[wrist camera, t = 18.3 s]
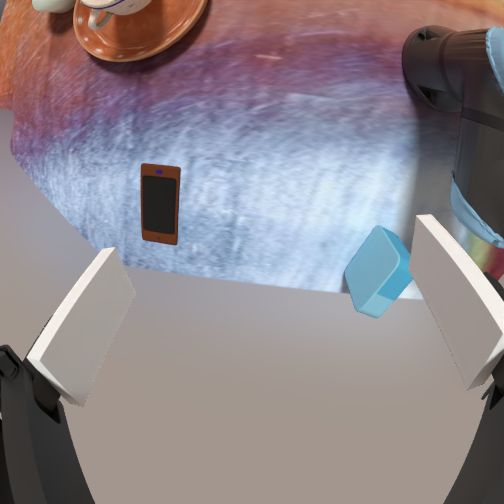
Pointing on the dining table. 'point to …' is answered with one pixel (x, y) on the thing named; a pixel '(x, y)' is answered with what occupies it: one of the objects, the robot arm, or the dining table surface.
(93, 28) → the teacup with lid
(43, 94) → the dining table surface
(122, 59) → the saucer
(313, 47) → the dining table surface
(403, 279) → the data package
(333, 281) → the dining table surface
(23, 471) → the robot arm
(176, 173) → the smartphone
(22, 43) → the dining table surface
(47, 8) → the sugar bowl
